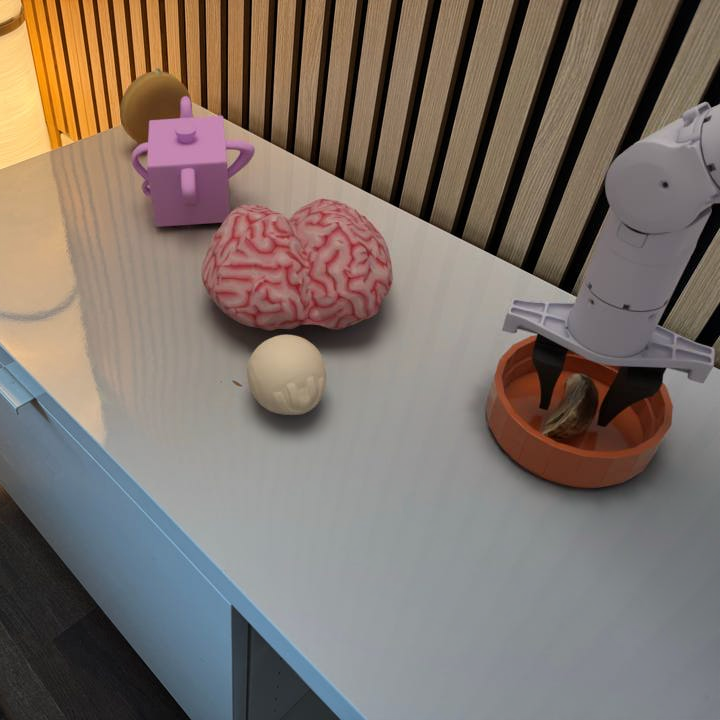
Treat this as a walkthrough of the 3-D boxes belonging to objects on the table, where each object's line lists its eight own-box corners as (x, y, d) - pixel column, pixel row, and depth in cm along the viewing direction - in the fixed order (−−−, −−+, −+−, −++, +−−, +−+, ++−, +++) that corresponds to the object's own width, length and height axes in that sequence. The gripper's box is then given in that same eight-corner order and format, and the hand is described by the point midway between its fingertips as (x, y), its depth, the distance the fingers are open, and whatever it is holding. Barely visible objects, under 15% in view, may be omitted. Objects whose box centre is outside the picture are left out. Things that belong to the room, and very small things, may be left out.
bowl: (658, 393, 67) (678, 358, 64) (644, 514, 58) (666, 481, 55) (502, 351, 71) (513, 316, 68) (468, 458, 63) (479, 424, 60)
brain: (364, 232, 85) (372, 152, 78) (407, 344, 72) (421, 262, 65) (197, 249, 84) (189, 170, 77) (211, 365, 71) (204, 284, 64)
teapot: (141, 164, 96) (130, 89, 89) (250, 157, 97) (247, 81, 89) (136, 251, 84) (123, 172, 77) (261, 243, 84) (259, 163, 77)
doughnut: (185, 127, 103) (177, 55, 95) (198, 139, 100) (192, 65, 93) (122, 149, 99) (110, 75, 92) (135, 161, 97) (124, 87, 90)
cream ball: (269, 443, 65) (268, 391, 60) (237, 385, 69) (234, 333, 65) (340, 419, 66) (344, 366, 61) (304, 364, 71) (306, 311, 66)
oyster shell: (549, 434, 69) (550, 470, 60) (524, 401, 69) (522, 432, 60) (610, 399, 66) (620, 432, 57) (584, 365, 67) (591, 392, 57)
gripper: (742, 276, 54) (671, 401, 63) (532, 230, 58) (496, 353, 68) (741, 340, 49) (664, 464, 59) (514, 285, 54) (478, 408, 64)
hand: (573, 409), depth 63 cm, fingers open, 4 cm apart
